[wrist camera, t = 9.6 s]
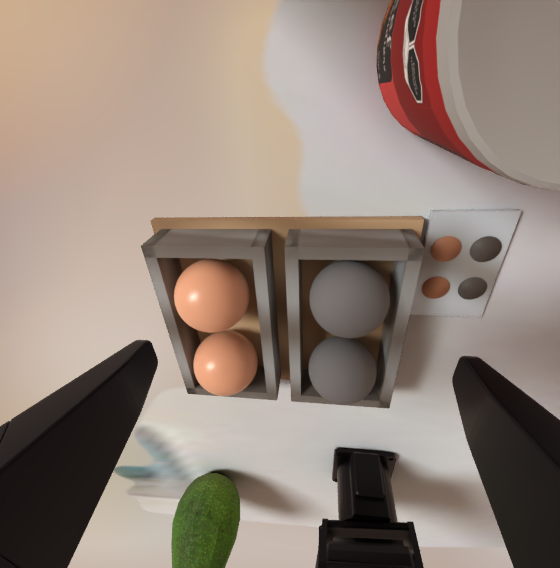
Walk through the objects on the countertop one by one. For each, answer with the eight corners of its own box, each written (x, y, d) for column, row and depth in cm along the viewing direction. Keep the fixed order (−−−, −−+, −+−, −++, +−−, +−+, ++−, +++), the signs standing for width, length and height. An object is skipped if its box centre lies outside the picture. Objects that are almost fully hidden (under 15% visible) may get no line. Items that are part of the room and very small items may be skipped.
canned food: (484, -126, 12) (1018, -848, 3) (582, 40, 14) (1065, -54, 5) (340, 58, 16) (363, 11, 6) (435, 168, 18) (556, 252, 9)
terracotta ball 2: (264, 362, 27) (253, 412, 23) (210, 359, 28) (190, 407, 24) (260, 318, 25) (246, 365, 20) (200, 316, 25) (176, 361, 21)
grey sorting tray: (453, 383, 27) (469, 419, 24) (196, 368, 30) (182, 397, 27) (518, 209, 18) (554, 231, 16) (153, 212, 21) (126, 230, 19)
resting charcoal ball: (368, 368, 26) (376, 422, 22) (309, 365, 27) (307, 416, 23) (375, 323, 23) (386, 373, 19) (309, 320, 24) (306, 369, 20)
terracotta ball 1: (258, 304, 24) (244, 350, 20) (197, 302, 25) (171, 346, 20) (252, 246, 21) (234, 284, 17) (184, 246, 22) (150, 282, 18)
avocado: (252, 492, 42) (229, 618, 32) (198, 487, 43) (160, 607, 33) (242, 460, 38) (212, 594, 28) (183, 456, 39) (134, 583, 29)
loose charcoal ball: (386, 246, 20) (405, 287, 16) (377, 307, 23) (391, 357, 18) (310, 246, 21) (308, 286, 16) (310, 306, 23) (308, 353, 19)
